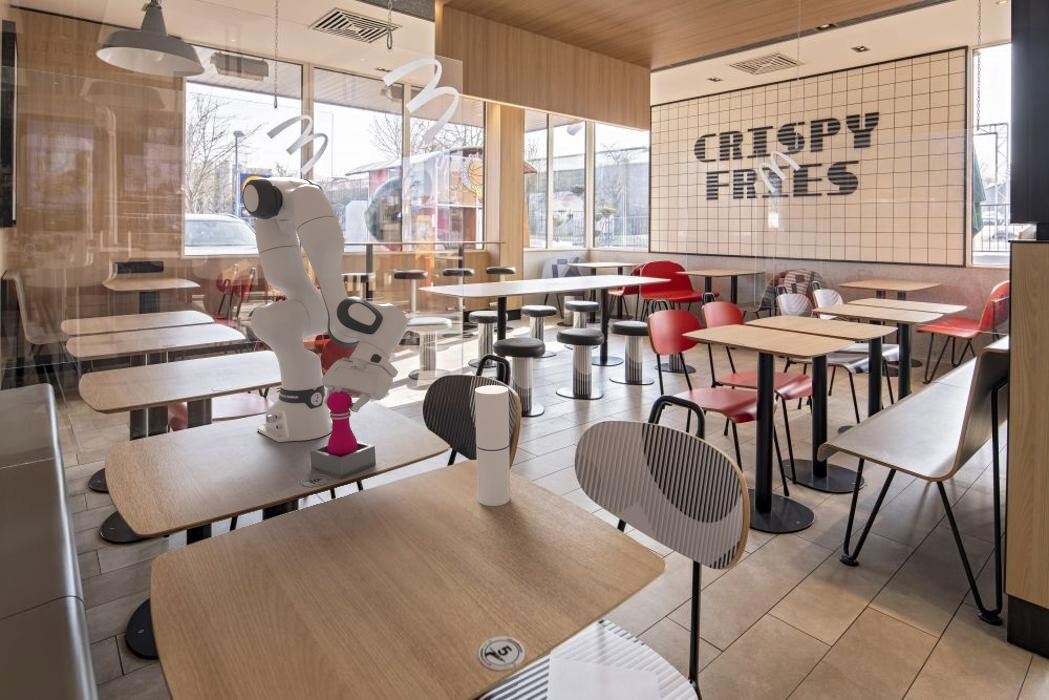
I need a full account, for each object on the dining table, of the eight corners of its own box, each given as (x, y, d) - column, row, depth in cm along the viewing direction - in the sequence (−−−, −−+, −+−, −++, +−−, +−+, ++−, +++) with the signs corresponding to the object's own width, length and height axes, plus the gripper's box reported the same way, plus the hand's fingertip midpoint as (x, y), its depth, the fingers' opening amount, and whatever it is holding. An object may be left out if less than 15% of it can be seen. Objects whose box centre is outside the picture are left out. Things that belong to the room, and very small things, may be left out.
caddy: (311, 469, 158) (310, 450, 157) (346, 455, 167) (345, 437, 166) (341, 479, 152) (340, 459, 151) (375, 464, 161) (374, 445, 160)
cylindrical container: (474, 504, 138) (471, 393, 133) (481, 491, 145) (479, 384, 140) (506, 507, 137) (504, 394, 132) (512, 493, 144) (511, 385, 138)
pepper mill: (362, 458, 162) (358, 382, 158) (352, 469, 155) (347, 390, 151) (335, 457, 163) (330, 381, 159) (323, 468, 156) (317, 389, 152)
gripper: (333, 349, 166) (304, 394, 160) (389, 359, 155) (360, 407, 149) (347, 363, 170) (320, 407, 164) (403, 373, 159) (375, 421, 153)
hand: (339, 407), depth 156 cm, fingers open, 8 cm apart
